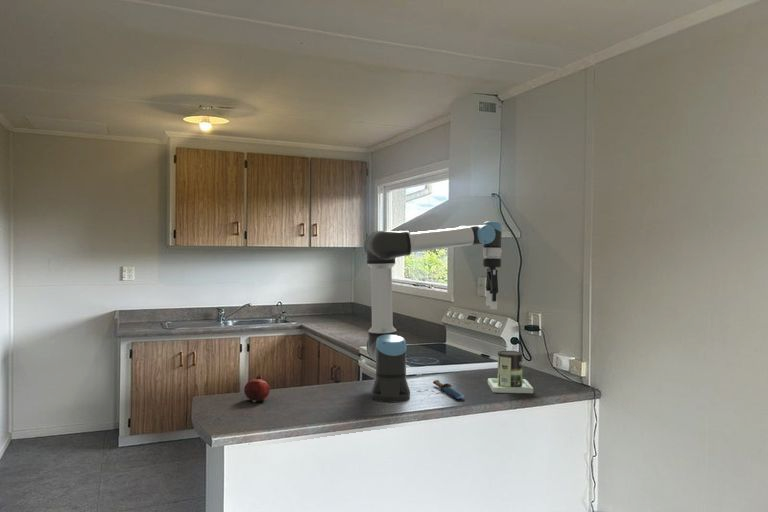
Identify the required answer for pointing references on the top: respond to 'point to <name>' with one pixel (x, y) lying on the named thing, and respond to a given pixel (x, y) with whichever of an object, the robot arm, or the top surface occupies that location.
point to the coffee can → (510, 369)
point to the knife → (448, 389)
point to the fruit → (256, 389)
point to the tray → (524, 389)
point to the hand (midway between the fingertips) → (491, 307)
